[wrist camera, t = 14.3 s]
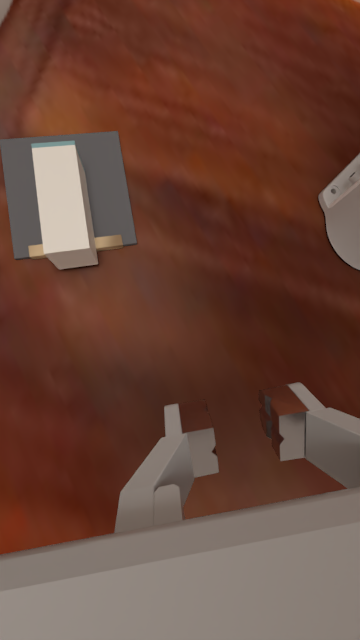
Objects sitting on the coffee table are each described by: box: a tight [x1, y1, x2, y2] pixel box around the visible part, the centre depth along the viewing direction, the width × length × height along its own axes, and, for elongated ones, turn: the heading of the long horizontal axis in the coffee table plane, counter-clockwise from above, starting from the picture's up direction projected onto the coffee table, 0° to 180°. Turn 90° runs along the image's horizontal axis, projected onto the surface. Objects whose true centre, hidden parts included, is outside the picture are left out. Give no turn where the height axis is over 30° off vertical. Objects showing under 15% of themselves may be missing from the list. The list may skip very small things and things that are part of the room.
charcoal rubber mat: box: [0, 131, 137, 260], centre depth 37 cm, size 16×17×1 cm
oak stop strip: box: [28, 235, 123, 259], centre depth 36 cm, size 12×2×1 cm, turn 100°
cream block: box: [31, 141, 98, 269], centre depth 34 cm, size 5×5×14 cm
